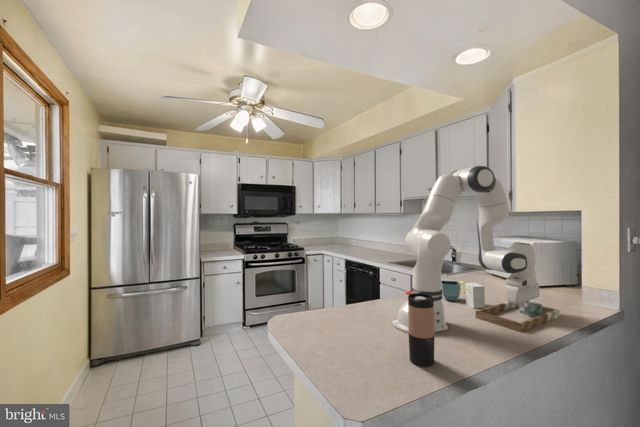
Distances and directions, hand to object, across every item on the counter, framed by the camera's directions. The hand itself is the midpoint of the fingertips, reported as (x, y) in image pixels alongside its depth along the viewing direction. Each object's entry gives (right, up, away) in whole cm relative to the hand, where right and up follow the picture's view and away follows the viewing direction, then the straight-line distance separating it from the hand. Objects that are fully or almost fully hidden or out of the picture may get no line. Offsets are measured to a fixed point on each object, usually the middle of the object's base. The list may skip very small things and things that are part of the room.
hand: (524, 310), depth 129 cm
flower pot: (-21, -3, +25) cm, 33 cm away
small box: (-14, -3, +14) cm, 20 cm away
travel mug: (-59, -3, -38) cm, 70 cm away
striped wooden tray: (-4, -2, -2) cm, 5 cm away
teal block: (+4, -2, +2) cm, 5 cm away
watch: (-8, -3, +39) cm, 40 cm away
